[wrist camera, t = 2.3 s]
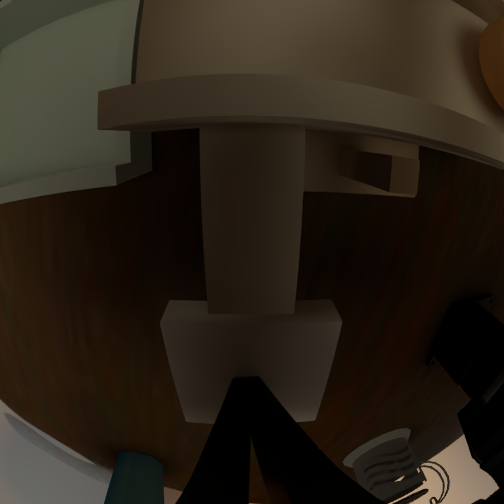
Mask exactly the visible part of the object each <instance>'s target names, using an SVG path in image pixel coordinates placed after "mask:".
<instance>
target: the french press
mask: <svg viewBox="0 0 504 504" xmlns="http://www.w3.org/2000/svg"><path fill="white" fill-rule="evenodd" d="M410 432H411V430H410V429H408V428H403V429H397V430H394V431H391V432H388V433H385V434H383V435H381V436H379V437H377V438H375V439H372V440H370V441H369V442H367V443H365V444H364V445H362V446H360V447H358V448H357V449H355V450H354V451H353V452H351V453H350V454H349V455H348V456H347V457H346V458H345V459H344V461H343V463H344V465H345V466H348V467H351V468H353V469H354V472H355V474H356V477H357V480H358V483H359V485H360V486H362V487H363V488H364V489H366V490H367V491H368V492H370V493H371V494H373V495H374V496H375V497H377V498H378V499H380V500H382V501H383V502H385V503H387V504H388V503H390V502H393V501H395V500H397V499H399V498H401V497H403V496H405V495H406V494H408V493H410V492H412V491H413V490H415V489H417V488H418V487H420V486H421V485H422V484H423V482H422V481H424V480H425V481H427V479H426V477H425V475H424V473H423V471H422V469H421V467H427V468H431V469H433V470H434V471H436V472H437V473H438V474H439V476H440V478H441V480H442V482H443V492H442V494H441V497H440V499H439V500H438V501H437V499H436V498H435V497H432V498H431V499H430V504H433V503H432V499H434V500H435V502H436V504H438V503H441V502H442V500H443V499H444V498H445V496H446V494H447V492H448V490H449V483H450V481H449V476H448V474H447V472H446V471H445V469H444V468H443V467H442V466H441V465H439V464H438V463H436V462H431V461H418V459H417V457H416V455H415V453H414V451H413V449H412V448H411V446H410V444H409V442H408V439H409V436H410ZM407 445H408V448H409V449H408V450H407V448H406V446H407ZM410 453H412V455H413V456H412V457H411V456H410ZM397 460H398V462H399V463H397V464H394V463H395V462H396V461H397ZM414 460H415V462H416V464H414V462H413V461H414ZM419 463H433V464H436V465H438V466H439V467H440V468H441V469H442V470H443V471H444V473H445V475H446V477H447V481H448V484H447V490H446V493H445V495H444V497H443V498H442V496H443V493H444V487H445V485H444V480H443V478H442V476H441V474H440V473H439V472H438V471H437V470H436V469H434V468H433V467H432V466H426V465H423V466H420V465H419ZM399 468H401V469H402V470H401V471H400V472H396V471H397V470H398V469H399ZM417 468H419V470H420V472H419V473H418V471H417ZM387 469H392V470H391V471H389V472H388V473H386V474H381V475H370V474H371V473H374V472H381V471H385V470H387ZM364 471H365V472H366V473H364ZM400 476H404V478H403V479H402V480H401V481H396V480H397V479H398V478H399V477H400ZM391 477H393V478H392V479H391V480H388V481H384V482H375V481H378V480H381V479H384V478H391ZM367 478H370V479H371V480H369V481H367ZM394 481H396V482H394ZM371 485H374V486H376V487H374V488H370V486H371ZM427 492H428V489H423V490H421V491H418V492H416V493H413V494H411V495H409V496H407V497H406V498H403V499H401V500H399V501H397V502H395V503H393V504H409V503H411V502H413V501H414V500H416V498H417V499H418V498H419V497H421V496H422V495H424V494H426V493H427ZM441 498H442V499H441ZM440 500H441V501H440Z"/></svg>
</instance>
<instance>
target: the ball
mask: <svg viewBox="0 0 504 504" xmlns="http://www.w3.org/2000/svg"><path fill="white" fill-rule="evenodd" d="M479 62H480V67H481V71H482V74H483V77H484V80H485V82H486V84H487V86H488V88H489V90H490V92H491V94H492V95H493V97H494V98H495V100H496V101H497V103H498V104H499V105H500V106H501V108H502V109H503V110H504V17H499V18H497V19H495V20H493V21H492V22H490V23H489V24H488V25H487V26H486V28H485V29H484V31H483V33H482V35H481V38H480V42H479Z"/></svg>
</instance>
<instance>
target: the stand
mask: <svg viewBox="0 0 504 504" xmlns="http://www.w3.org/2000/svg"><path fill="white" fill-rule="evenodd" d="M418 156H419V145H415V144H411V143H406V142H401V141H395V140H390V139H384V138H378V137H372V136H365V135H358V134H351V133H343V132H334V131H324V130H312V129H305V164H304V188H303V191H312V192H340V193H360V194H376V195H390V196H402V197H414V198H415V195H417V188H418V178H419V167H420V160H418Z"/></svg>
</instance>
